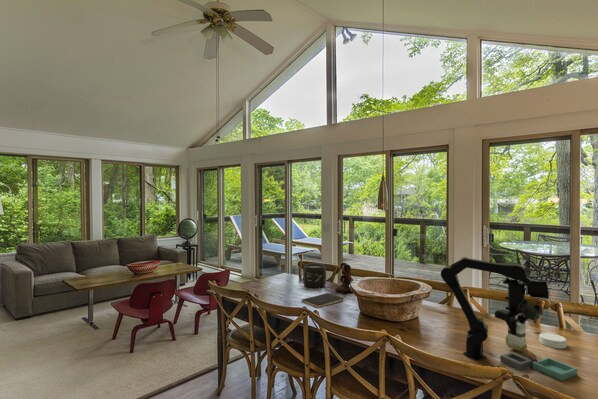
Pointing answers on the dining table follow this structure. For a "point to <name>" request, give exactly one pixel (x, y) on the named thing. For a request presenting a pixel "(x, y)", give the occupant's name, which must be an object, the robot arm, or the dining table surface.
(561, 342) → the coaster
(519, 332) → the block
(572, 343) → the dining table surface
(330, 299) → the hardcover book
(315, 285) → the lettered dark canister
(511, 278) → the robot arm
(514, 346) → the hand bell
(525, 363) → the socket block
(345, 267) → the brown carved figurine
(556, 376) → the parts tray
